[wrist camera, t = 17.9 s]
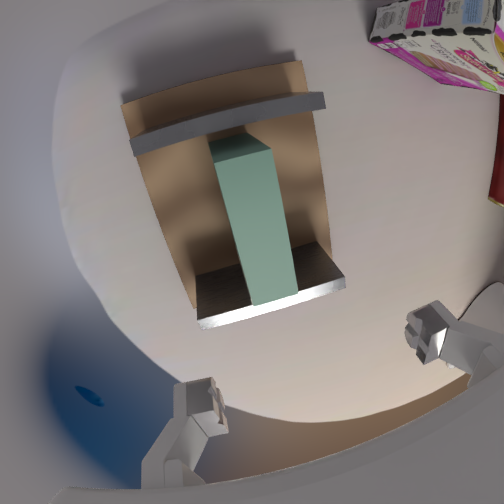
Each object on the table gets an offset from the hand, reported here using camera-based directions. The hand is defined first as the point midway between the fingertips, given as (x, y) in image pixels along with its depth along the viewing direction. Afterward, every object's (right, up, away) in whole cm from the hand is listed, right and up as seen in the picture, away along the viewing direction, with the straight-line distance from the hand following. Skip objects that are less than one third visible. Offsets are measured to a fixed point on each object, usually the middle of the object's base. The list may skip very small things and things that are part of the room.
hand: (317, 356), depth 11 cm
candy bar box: (+15, +26, +13) cm, 33 cm away
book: (-3, +9, +17) cm, 20 cm away
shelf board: (-4, +10, +18) cm, 21 cm away
